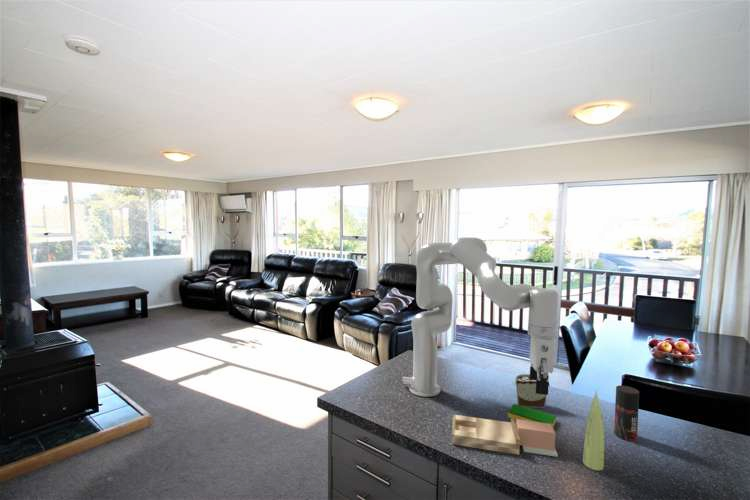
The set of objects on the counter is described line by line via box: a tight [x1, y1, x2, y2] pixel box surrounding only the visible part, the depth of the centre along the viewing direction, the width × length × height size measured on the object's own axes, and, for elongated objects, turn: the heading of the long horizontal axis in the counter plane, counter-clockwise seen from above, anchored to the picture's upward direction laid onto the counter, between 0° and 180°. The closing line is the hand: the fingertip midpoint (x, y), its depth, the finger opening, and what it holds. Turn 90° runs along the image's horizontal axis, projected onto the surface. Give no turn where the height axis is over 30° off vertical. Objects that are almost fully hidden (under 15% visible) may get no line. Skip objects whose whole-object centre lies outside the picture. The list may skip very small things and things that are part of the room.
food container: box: [513, 373, 550, 409], centre depth 132 cm, size 12×6×10 cm, turn 84°
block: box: [515, 419, 556, 451], centre depth 106 cm, size 5×5×10 cm
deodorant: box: [613, 385, 640, 442], centre depth 111 cm, size 6×6×15 cm
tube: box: [582, 391, 605, 471], centre depth 96 cm, size 6×5×20 cm
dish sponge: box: [507, 403, 557, 428], centre depth 121 cm, size 7×14×2 cm, turn 54°
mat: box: [521, 445, 559, 458], centre depth 106 cm, size 9×9×1 cm
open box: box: [451, 414, 521, 456], centre depth 109 cm, size 19×12×4 cm, turn 76°
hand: (538, 386), depth 106 cm, fingers open, 9 cm apart
